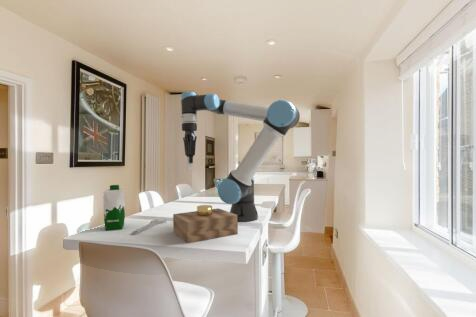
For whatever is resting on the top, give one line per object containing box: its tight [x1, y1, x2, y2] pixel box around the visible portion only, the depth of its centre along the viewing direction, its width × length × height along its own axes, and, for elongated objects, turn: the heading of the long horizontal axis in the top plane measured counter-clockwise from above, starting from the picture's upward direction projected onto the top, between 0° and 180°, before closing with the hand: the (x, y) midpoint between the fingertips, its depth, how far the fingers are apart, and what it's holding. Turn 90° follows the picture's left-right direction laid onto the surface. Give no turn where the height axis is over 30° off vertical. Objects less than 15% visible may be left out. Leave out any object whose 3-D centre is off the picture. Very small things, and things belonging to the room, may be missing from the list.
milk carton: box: [102, 184, 126, 231], centre depth 130 cm, size 9×9×20 cm
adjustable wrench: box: [131, 218, 167, 236], centre depth 131 cm, size 25×6×2 cm, turn 162°
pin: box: [196, 204, 213, 216], centre depth 119 cm, size 6×6×11 cm
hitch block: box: [172, 208, 239, 244], centre depth 119 cm, size 22×18×8 cm
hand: (190, 169), depth 141 cm, fingers closed
